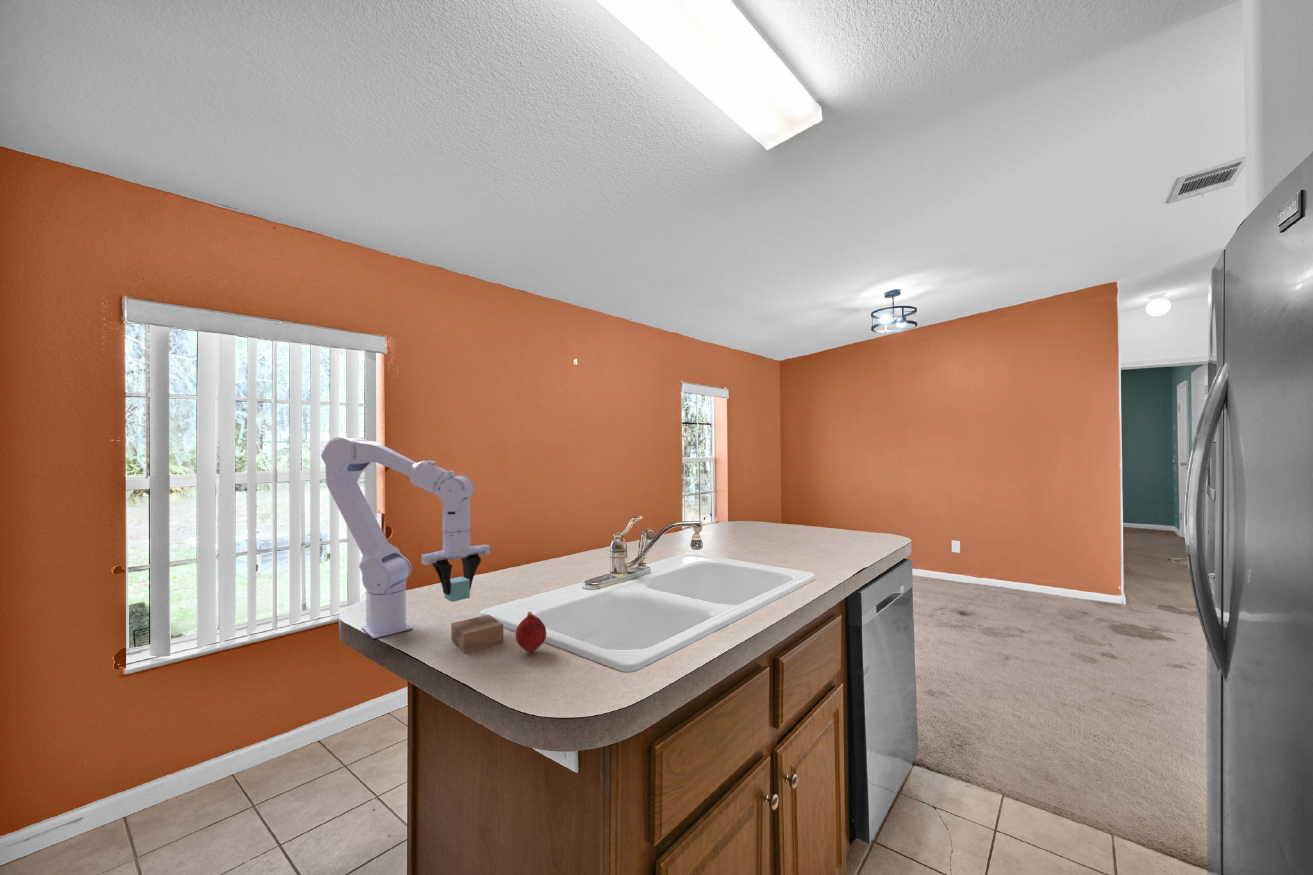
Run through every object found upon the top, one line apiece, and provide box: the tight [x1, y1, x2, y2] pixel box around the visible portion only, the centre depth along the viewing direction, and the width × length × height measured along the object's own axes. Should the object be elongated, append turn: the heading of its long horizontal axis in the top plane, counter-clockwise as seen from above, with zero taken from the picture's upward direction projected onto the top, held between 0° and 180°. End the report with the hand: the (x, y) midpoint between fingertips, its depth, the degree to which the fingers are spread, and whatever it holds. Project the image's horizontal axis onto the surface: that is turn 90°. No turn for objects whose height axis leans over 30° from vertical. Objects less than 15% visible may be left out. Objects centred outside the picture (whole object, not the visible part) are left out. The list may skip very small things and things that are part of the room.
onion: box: [515, 611, 547, 654], centre depth 98 cm, size 6×6×8 cm
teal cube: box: [444, 576, 471, 603], centre depth 111 cm, size 4×4×4 cm
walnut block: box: [450, 614, 504, 654], centre depth 104 cm, size 8×8×4 cm
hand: (457, 591), depth 111 cm, fingers closed on teal cube, 4 cm apart
